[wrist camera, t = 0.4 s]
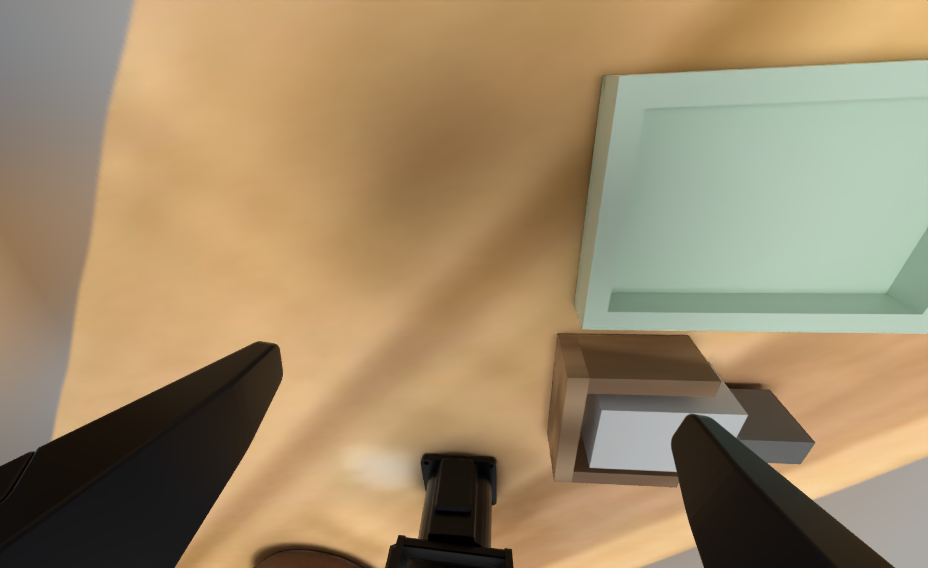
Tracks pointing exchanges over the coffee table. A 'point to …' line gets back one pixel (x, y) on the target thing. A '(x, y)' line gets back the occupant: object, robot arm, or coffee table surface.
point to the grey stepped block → (658, 417)
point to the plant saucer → (305, 560)
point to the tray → (759, 201)
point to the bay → (617, 372)
